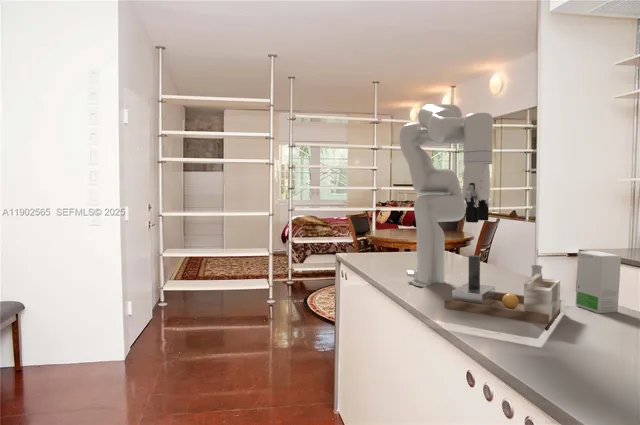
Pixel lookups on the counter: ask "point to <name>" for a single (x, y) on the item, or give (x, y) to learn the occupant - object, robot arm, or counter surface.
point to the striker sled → (474, 287)
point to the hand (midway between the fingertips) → (477, 221)
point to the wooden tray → (522, 303)
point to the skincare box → (598, 281)
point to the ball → (510, 301)
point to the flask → (536, 270)
